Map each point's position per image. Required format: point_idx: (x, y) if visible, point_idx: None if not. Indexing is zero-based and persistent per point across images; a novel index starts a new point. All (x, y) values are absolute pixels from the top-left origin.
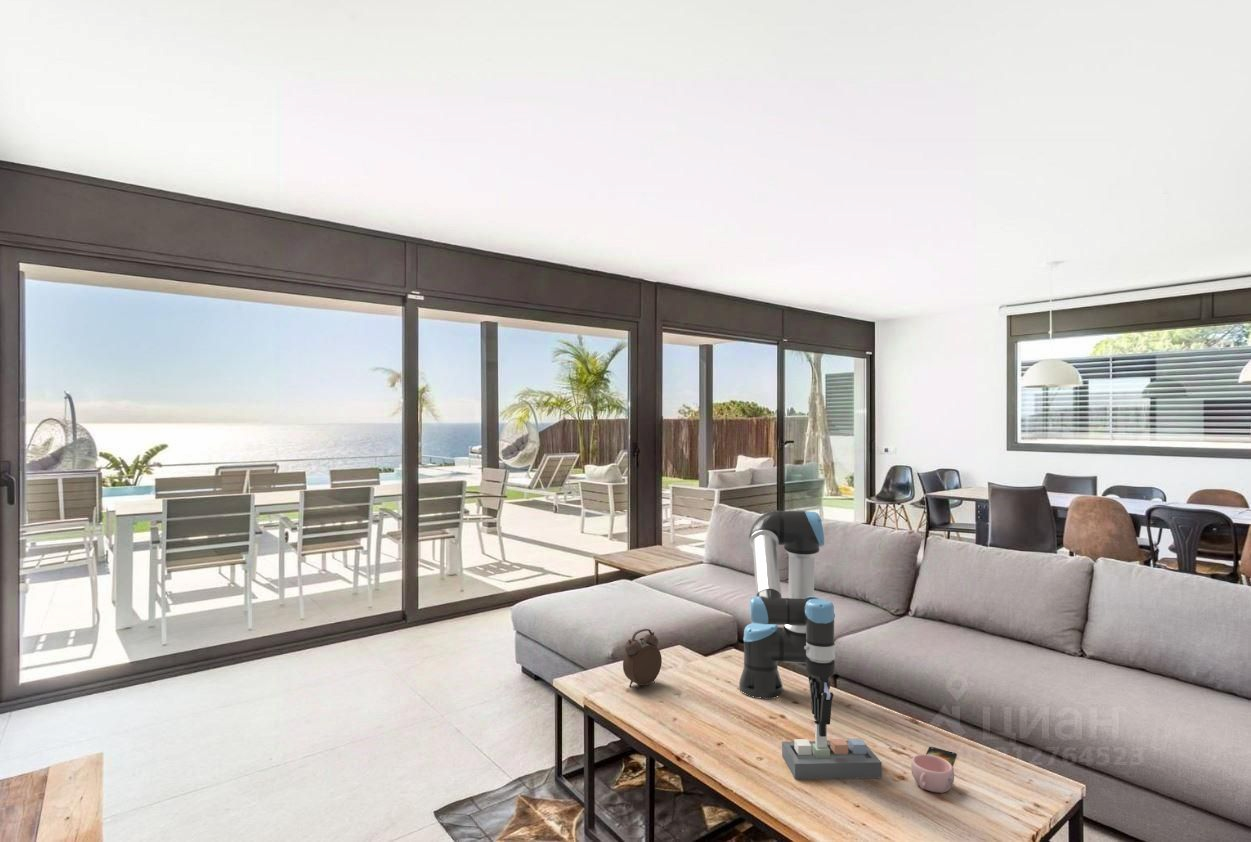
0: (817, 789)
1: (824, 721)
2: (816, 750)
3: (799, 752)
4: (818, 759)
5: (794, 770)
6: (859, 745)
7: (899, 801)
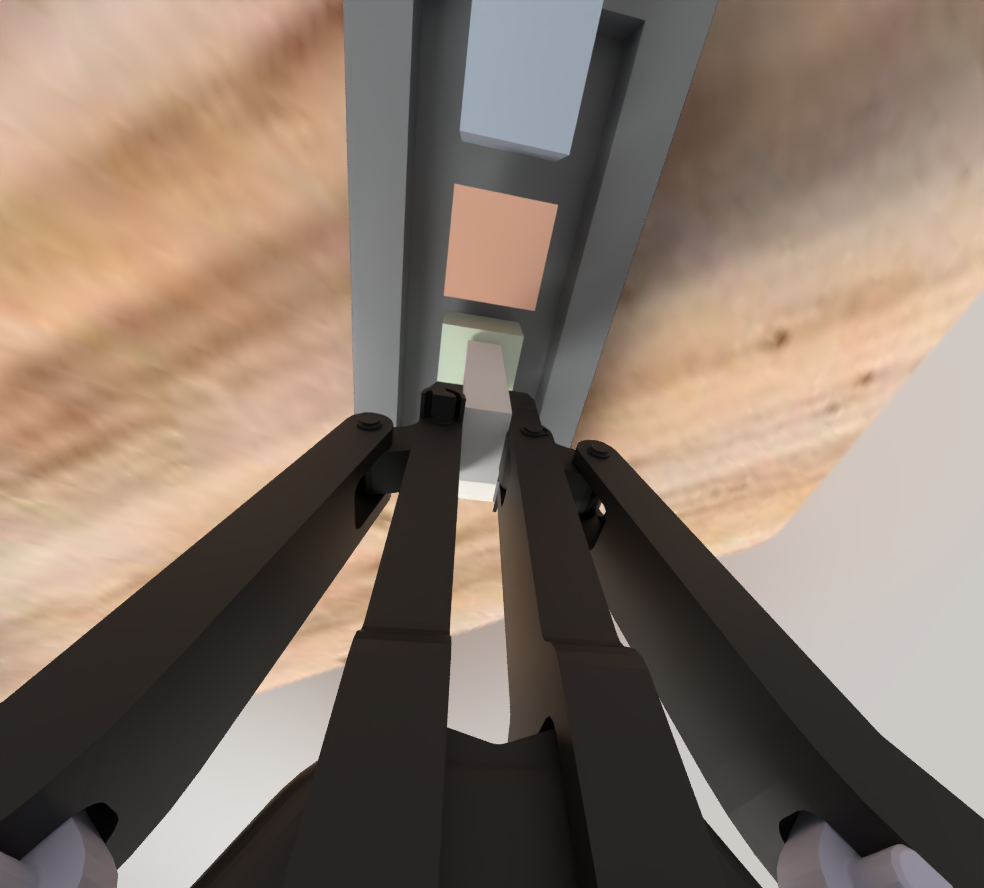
0: (623, 427)
1: (600, 501)
2: None
3: None
4: (545, 406)
5: None
6: (583, 88)
7: (891, 91)
